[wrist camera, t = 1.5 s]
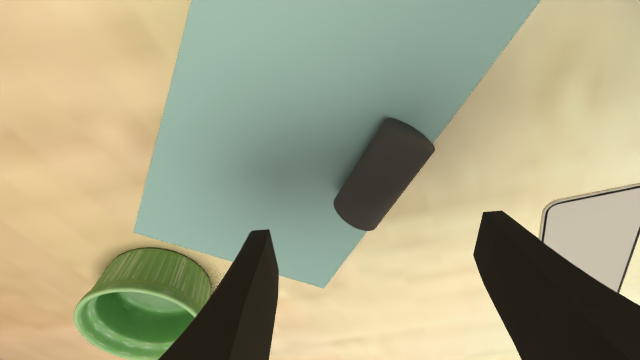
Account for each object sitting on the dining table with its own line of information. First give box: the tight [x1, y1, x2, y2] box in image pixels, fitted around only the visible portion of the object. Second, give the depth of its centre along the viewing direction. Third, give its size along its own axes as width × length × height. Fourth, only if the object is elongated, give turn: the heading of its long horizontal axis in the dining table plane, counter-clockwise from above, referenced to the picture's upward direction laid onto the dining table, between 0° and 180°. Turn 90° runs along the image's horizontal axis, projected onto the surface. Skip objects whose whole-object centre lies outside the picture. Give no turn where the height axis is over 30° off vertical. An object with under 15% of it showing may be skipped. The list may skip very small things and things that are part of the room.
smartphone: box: [539, 183, 640, 293], centre depth 29 cm, size 7×1×15 cm
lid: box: [133, 0, 540, 288], centre depth 16 cm, size 12×20×3 cm, turn 154°
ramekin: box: [74, 248, 211, 360], centre depth 27 cm, size 9×9×4 cm
